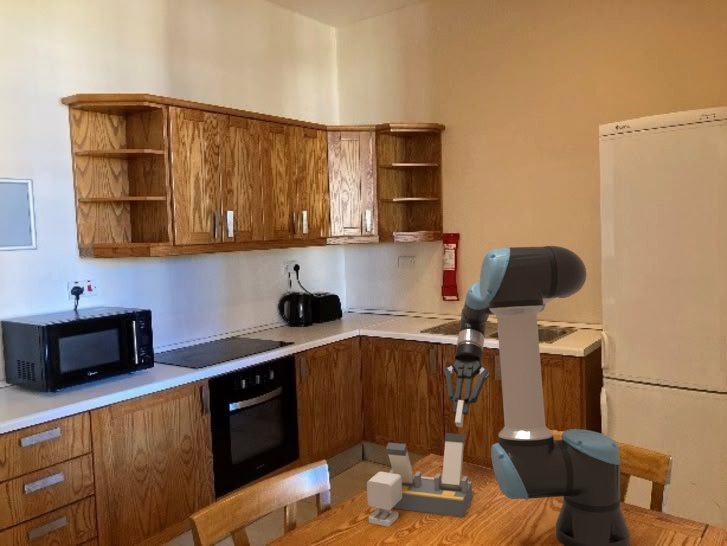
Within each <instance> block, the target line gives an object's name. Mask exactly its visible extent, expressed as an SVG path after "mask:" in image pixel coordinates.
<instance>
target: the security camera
mask: <svg viewBox="0 0 727 546" xmlns="http://www.w3.org/2000/svg"><path fill="white" fill-rule="evenodd" d="M366 495H367V496H366V497H367V505H368V506H369V507H371V508H376V510H375V511H373V513H371V514H370V515H369V516H368V523H369V524H373V525H378V526H383V527H388V528H389V527H391V526H392V524H394V523H395V521H397V519H398V518H399V511H397V510H396V511H395V510H392V509H394V508H393V507H394V506H395V505H396V504H397V503H398V502H399V501H400V500H401V499H402V481H401V476H400V475H399V474H393V473H389V472H385V471H378V472H377V473H376V474H375V475H373V476H372V477H371V478H370V479H369V480H367V481H366Z"/></svg>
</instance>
